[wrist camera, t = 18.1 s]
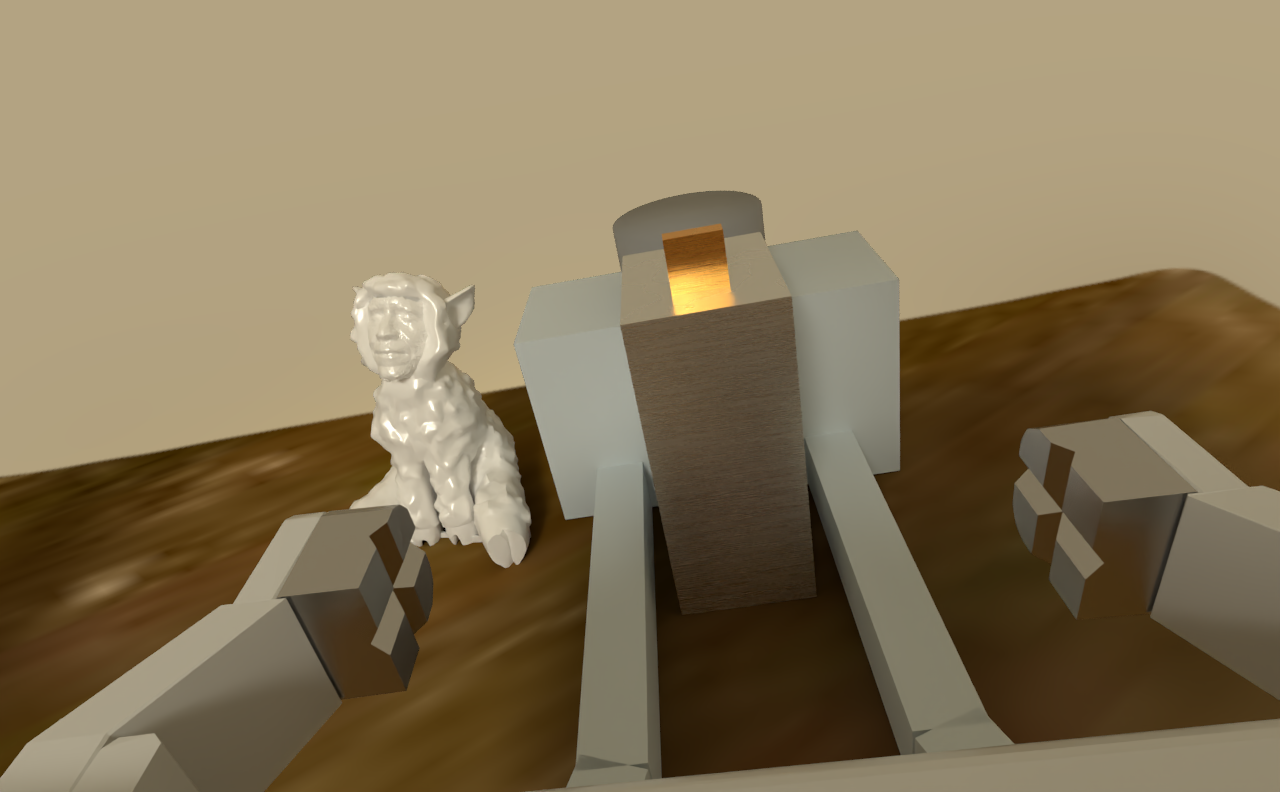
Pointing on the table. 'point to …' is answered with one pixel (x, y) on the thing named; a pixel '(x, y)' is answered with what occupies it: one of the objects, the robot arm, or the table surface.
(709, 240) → the block
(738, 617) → the table surface
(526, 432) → the table surface
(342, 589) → the robot arm
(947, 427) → the table surface
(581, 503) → the bracket
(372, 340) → the white creature statuette
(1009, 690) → the table surface
